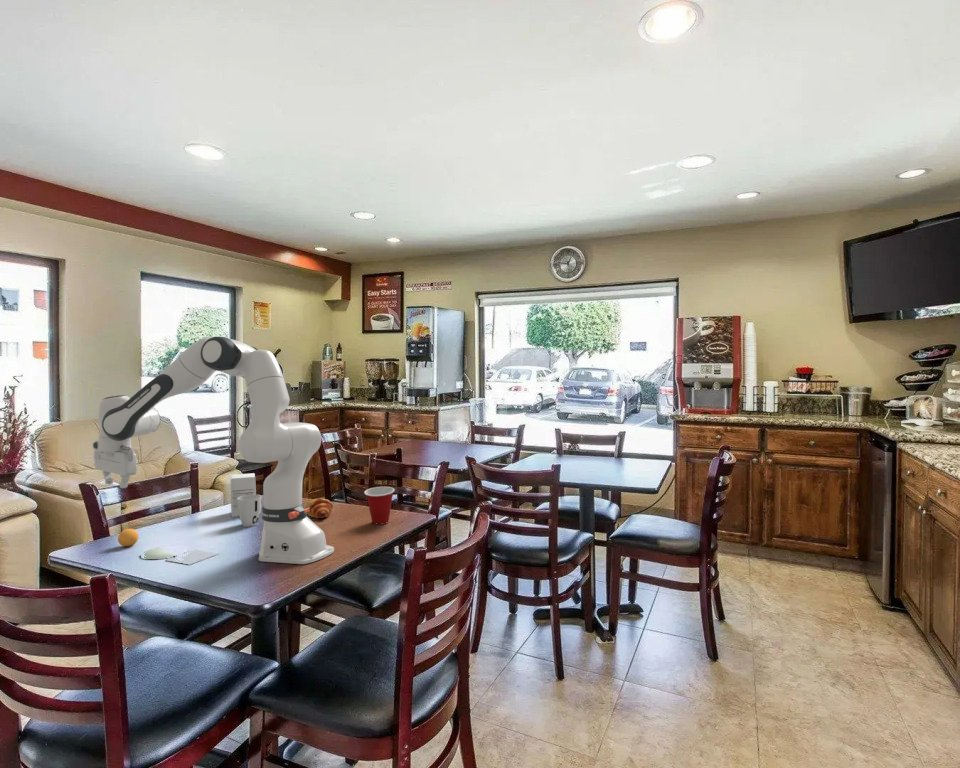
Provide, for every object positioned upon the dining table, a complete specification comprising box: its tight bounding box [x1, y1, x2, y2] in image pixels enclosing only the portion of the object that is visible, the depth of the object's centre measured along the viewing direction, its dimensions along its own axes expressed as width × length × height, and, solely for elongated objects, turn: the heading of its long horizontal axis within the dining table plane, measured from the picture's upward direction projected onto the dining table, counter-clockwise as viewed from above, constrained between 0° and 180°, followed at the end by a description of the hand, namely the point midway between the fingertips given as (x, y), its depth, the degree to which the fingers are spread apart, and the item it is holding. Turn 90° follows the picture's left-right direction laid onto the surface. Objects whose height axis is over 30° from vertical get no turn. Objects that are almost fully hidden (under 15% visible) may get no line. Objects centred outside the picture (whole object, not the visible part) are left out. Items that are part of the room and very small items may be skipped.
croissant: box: [305, 497, 334, 519], centre depth 209 cm, size 21×10×8 cm, turn 28°
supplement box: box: [230, 472, 257, 518], centre depth 211 cm, size 9×9×15 cm
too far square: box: [166, 549, 219, 566], centre depth 160 cm, size 10×10×1 cm
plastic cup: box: [364, 486, 395, 525], centre depth 195 cm, size 11×11×12 cm
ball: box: [117, 528, 139, 547], centre depth 172 cm, size 6×6×6 cm
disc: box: [144, 546, 188, 560], centre depth 165 cm, size 13×13×1 cm
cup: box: [237, 494, 263, 528], centre depth 195 cm, size 8×8×10 cm
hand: (116, 485), depth 179 cm, fingers open, 8 cm apart
